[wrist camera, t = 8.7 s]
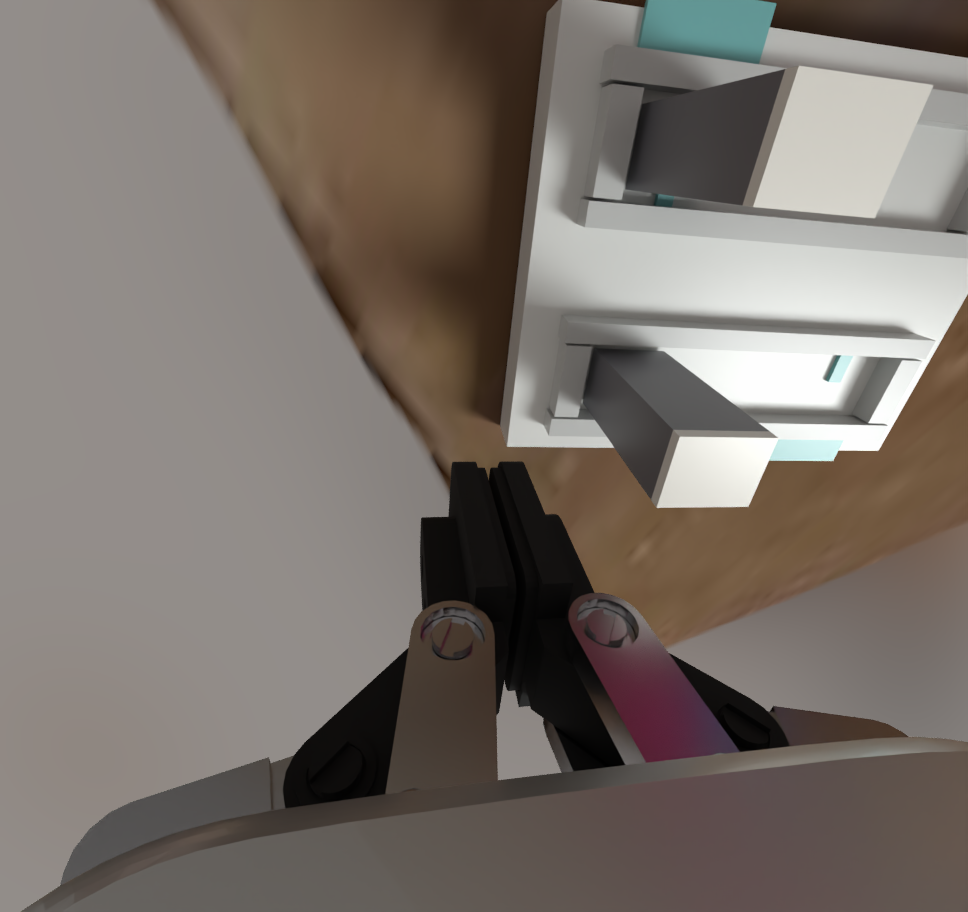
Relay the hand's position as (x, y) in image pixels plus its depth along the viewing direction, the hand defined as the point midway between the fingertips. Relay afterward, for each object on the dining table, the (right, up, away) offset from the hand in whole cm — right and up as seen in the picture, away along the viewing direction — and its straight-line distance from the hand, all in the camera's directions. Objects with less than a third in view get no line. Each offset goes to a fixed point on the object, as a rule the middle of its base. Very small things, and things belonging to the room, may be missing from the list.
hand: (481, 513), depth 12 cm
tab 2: (+6, +11, +5) cm, 14 cm away
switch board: (+11, +9, +9) cm, 17 cm away
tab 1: (+6, +5, +9) cm, 11 cm away
